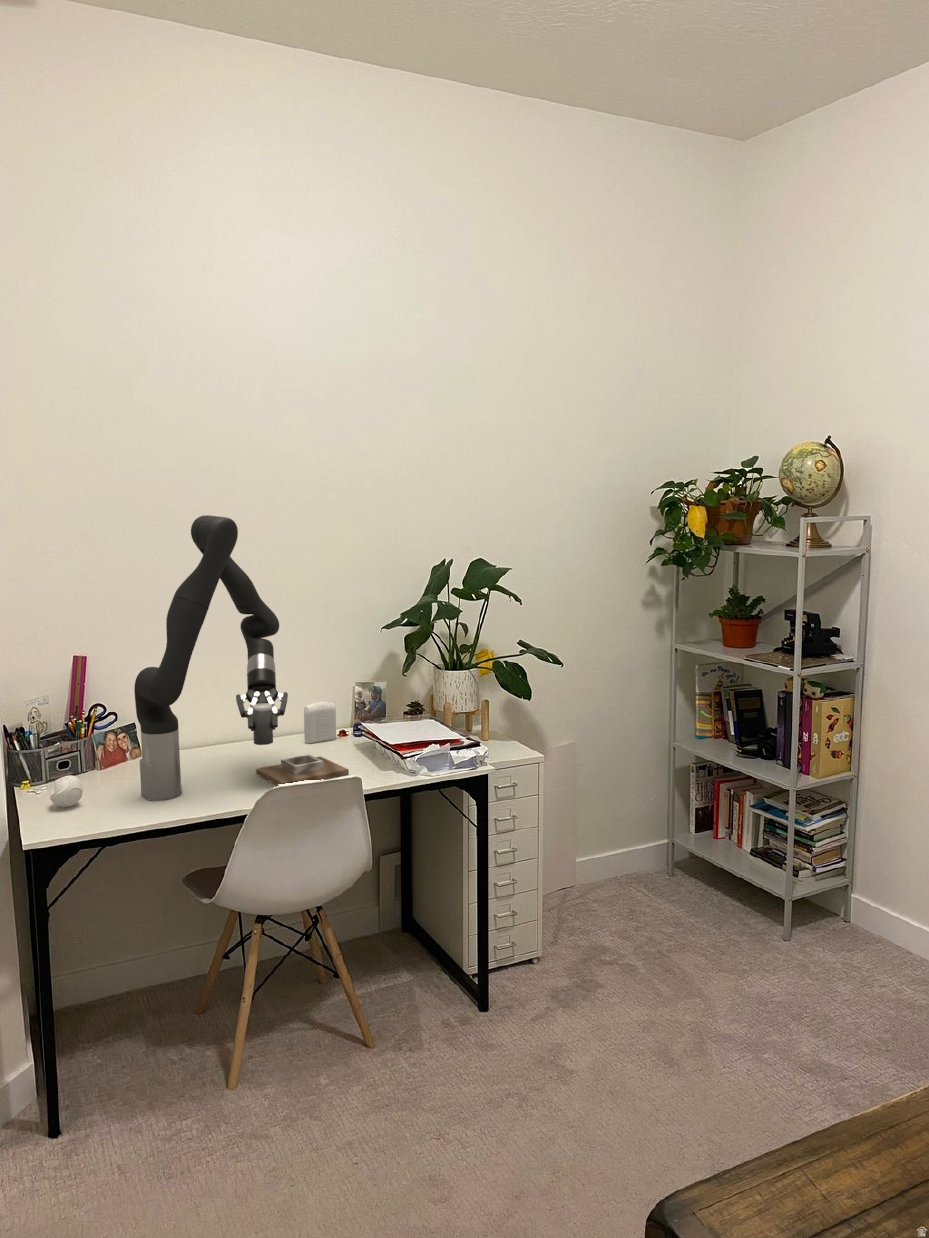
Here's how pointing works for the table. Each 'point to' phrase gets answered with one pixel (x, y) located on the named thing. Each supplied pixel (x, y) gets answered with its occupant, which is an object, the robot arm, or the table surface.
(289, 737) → the table surface
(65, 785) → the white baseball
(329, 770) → the mount board
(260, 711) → the dark grey cylinder
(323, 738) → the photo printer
